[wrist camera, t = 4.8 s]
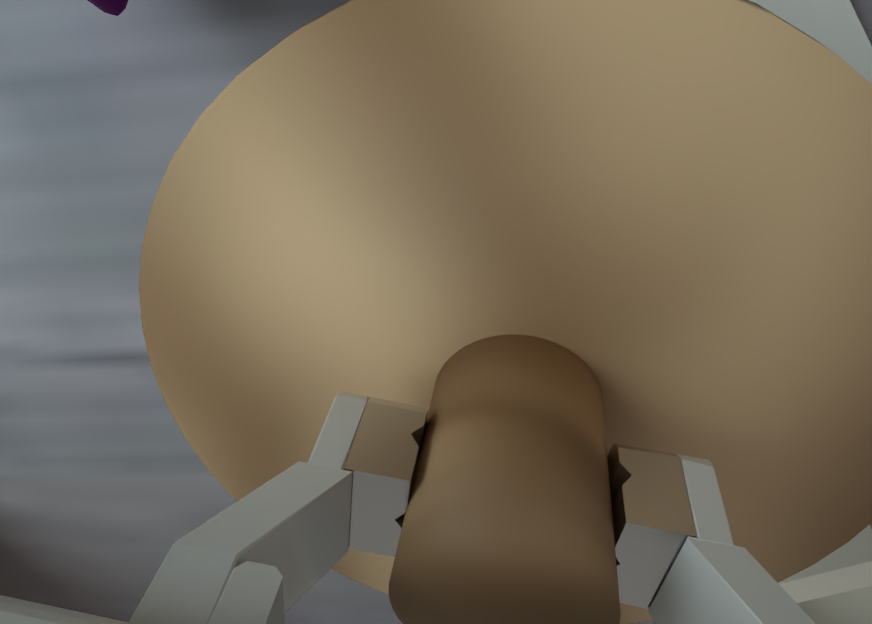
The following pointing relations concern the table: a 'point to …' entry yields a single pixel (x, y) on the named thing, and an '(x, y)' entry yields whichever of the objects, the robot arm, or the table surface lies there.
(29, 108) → the table surface
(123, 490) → the table surface
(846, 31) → the trivet
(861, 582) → the bowl
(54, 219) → the table surface
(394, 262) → the lid
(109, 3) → the perfume bottle
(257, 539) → the robot arm
